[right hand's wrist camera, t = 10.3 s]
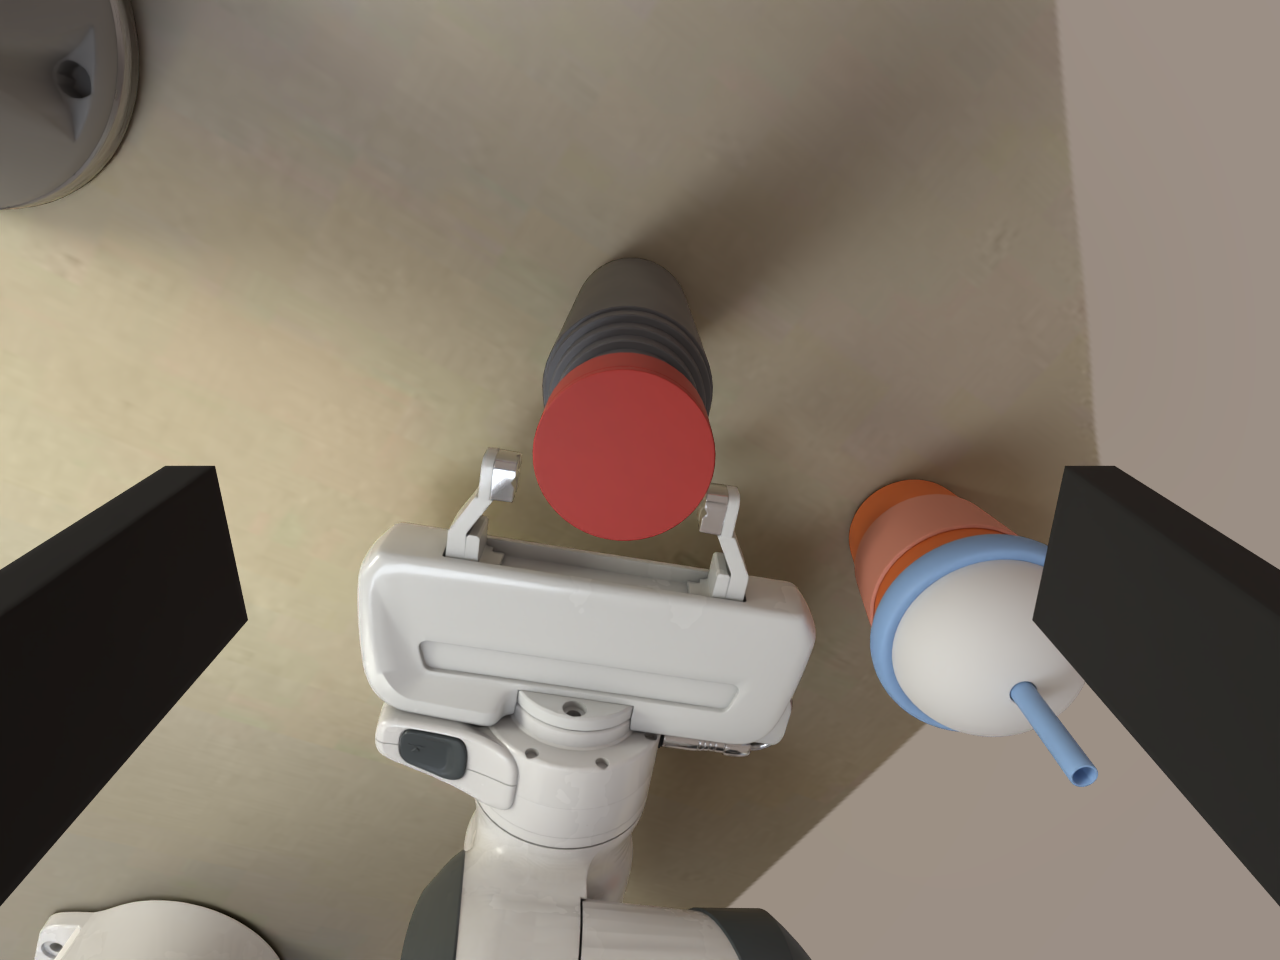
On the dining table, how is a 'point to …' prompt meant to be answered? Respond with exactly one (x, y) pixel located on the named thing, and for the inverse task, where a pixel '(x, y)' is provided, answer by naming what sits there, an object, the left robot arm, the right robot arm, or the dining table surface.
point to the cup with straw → (961, 619)
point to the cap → (624, 447)
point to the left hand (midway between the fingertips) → (613, 471)
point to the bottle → (630, 324)
